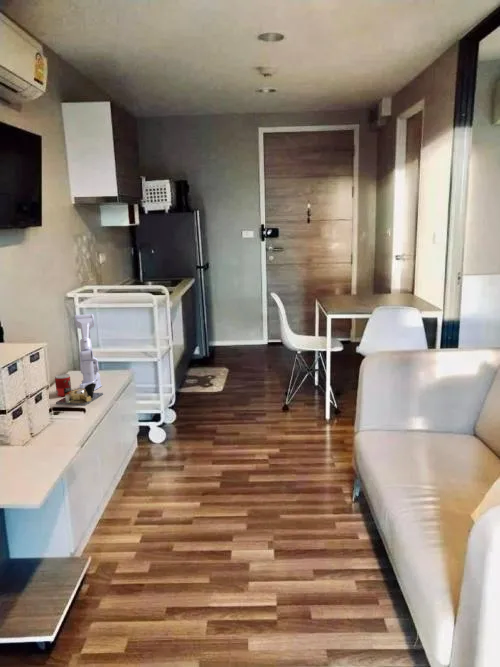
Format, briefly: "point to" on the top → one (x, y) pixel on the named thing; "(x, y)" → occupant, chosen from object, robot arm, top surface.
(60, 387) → the canned food
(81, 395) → the handled octagonal ring
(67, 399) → the flange plate
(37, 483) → the top surface
